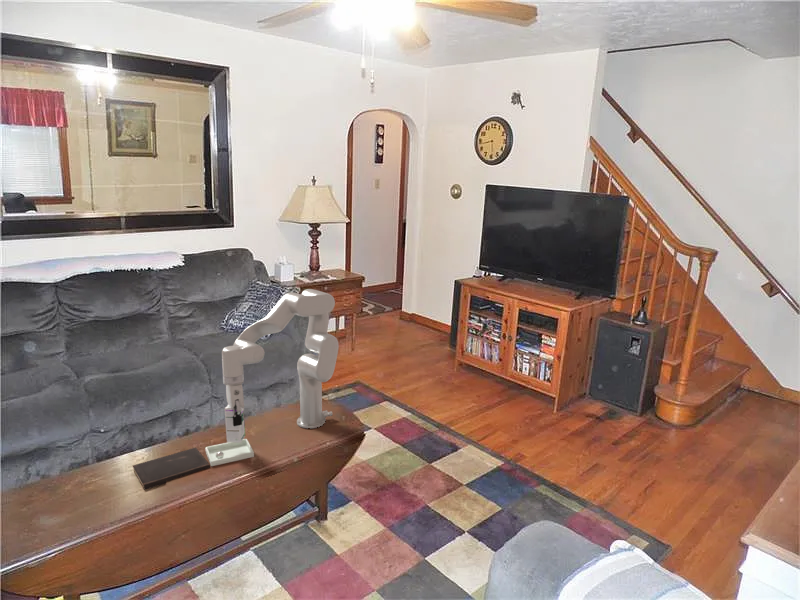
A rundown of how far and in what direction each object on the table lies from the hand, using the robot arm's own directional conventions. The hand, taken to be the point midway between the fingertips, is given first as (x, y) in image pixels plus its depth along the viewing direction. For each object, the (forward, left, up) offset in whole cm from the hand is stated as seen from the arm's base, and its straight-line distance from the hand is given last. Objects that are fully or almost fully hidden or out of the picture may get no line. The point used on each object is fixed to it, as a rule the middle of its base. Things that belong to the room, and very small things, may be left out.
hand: (235, 420), depth 209 cm
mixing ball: (+7, +3, -13) cm, 15 cm away
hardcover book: (+24, +2, -15) cm, 28 cm away
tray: (+3, +1, -14) cm, 14 cm away
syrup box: (0, 0, -8) cm, 8 cm away
